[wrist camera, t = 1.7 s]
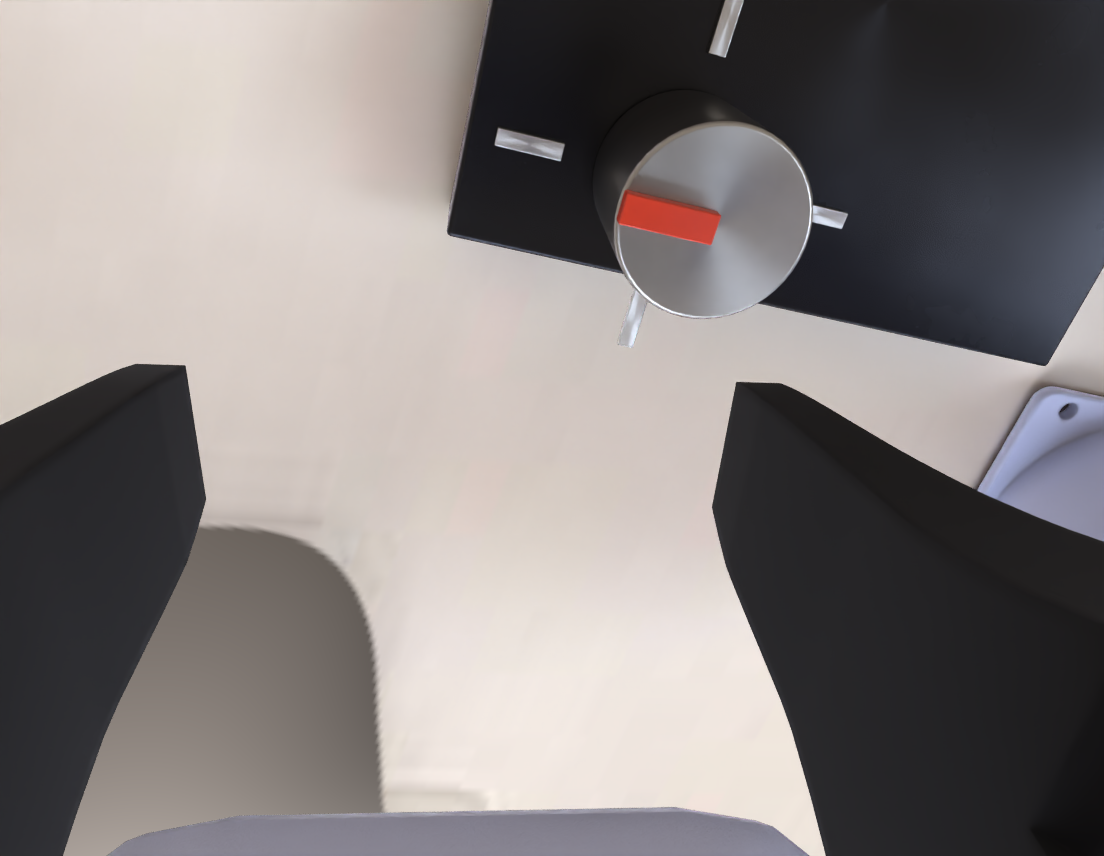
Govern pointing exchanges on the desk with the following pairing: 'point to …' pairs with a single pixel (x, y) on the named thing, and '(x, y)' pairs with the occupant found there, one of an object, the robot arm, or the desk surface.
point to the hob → (826, 147)
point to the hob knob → (701, 204)
